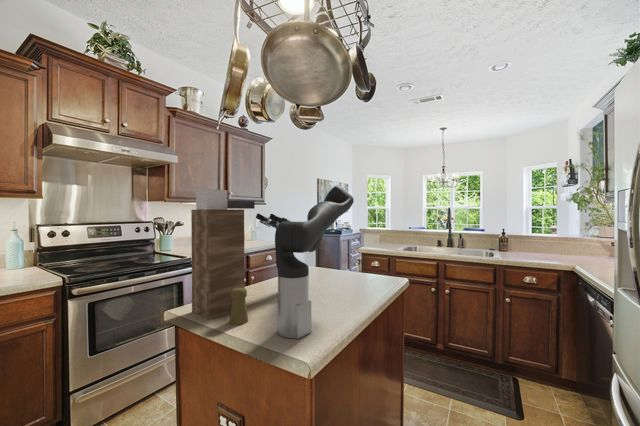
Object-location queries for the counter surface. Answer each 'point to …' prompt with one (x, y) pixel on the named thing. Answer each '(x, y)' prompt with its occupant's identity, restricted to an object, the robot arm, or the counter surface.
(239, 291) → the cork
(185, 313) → the counter surface
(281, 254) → the robot arm
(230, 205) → the meat mallet
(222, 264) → the tall wooden block
